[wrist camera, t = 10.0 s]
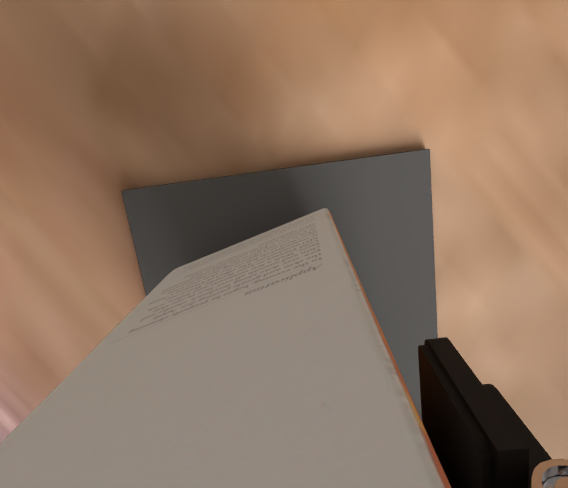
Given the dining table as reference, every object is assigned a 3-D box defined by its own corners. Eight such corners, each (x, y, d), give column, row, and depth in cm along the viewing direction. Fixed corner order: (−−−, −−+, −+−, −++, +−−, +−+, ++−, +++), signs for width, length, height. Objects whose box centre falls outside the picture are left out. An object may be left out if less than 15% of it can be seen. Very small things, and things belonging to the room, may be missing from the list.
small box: (404, 387, 16) (849, 1449, 3) (258, 436, 16) (120, 1415, 4) (329, 199, 14) (648, 860, 1) (169, 265, 15) (-648, 1054, 2)
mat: (125, 189, 16) (121, 191, 16) (426, 149, 15) (429, 149, 15) (184, 437, 19) (181, 443, 18) (438, 415, 18) (441, 421, 18)
